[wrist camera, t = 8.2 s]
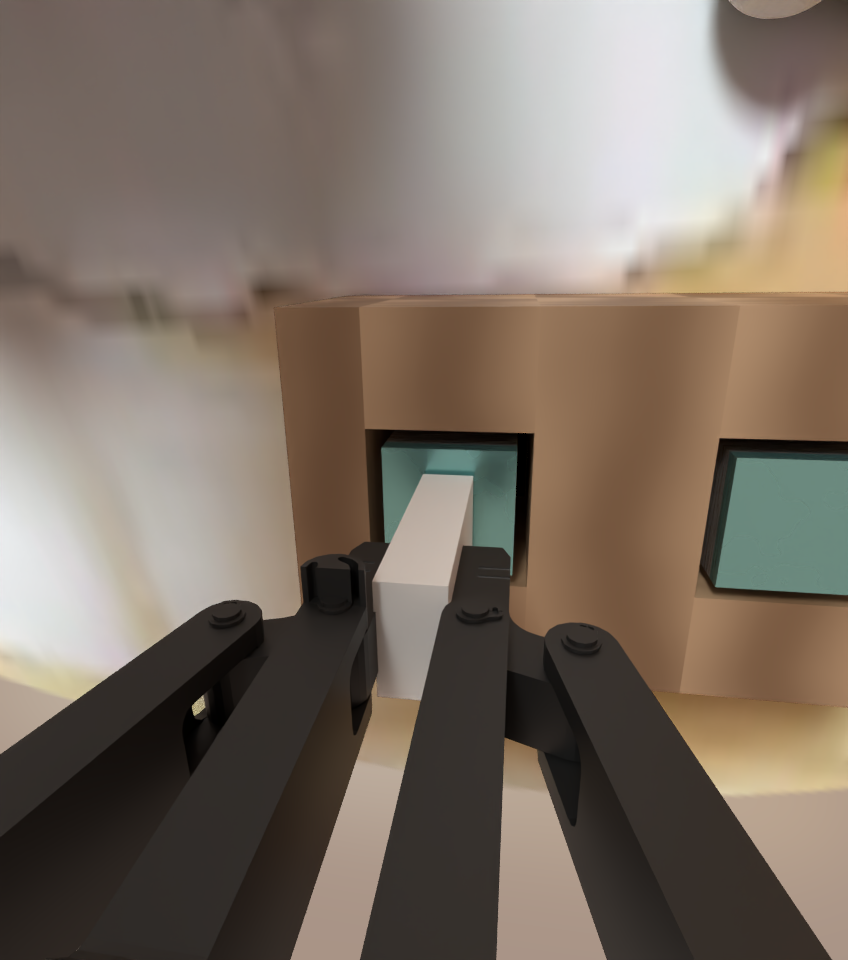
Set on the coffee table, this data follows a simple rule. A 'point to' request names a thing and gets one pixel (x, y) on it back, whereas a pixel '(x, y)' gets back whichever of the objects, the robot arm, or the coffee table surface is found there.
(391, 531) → the peg
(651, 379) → the socket block
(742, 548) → the peg
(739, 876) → the robot arm
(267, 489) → the coffee table surface
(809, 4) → the rainbow disc car
